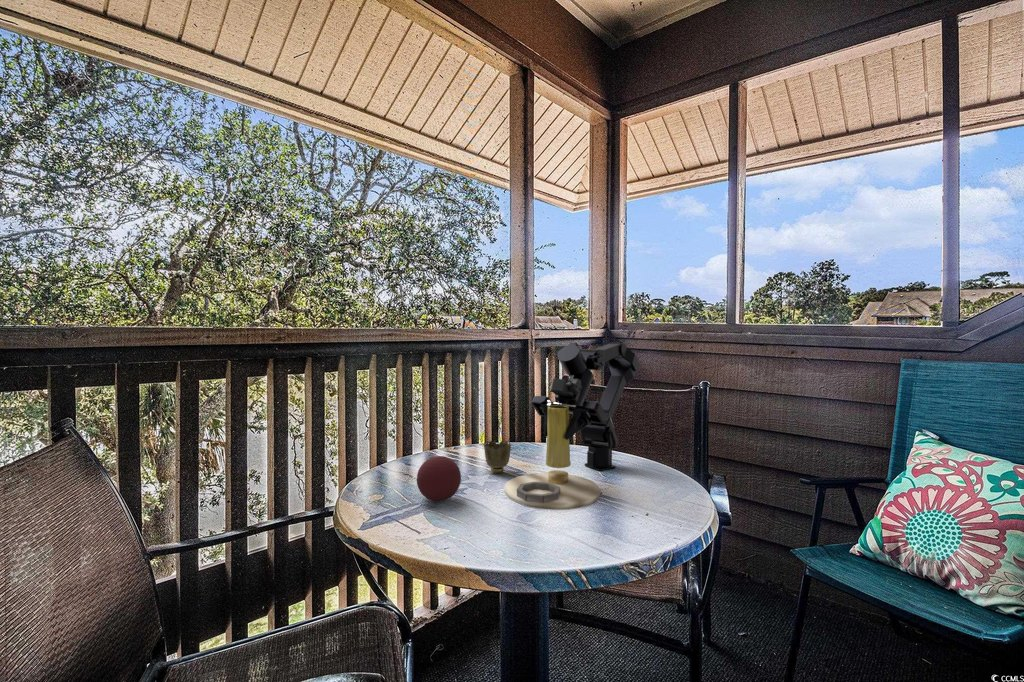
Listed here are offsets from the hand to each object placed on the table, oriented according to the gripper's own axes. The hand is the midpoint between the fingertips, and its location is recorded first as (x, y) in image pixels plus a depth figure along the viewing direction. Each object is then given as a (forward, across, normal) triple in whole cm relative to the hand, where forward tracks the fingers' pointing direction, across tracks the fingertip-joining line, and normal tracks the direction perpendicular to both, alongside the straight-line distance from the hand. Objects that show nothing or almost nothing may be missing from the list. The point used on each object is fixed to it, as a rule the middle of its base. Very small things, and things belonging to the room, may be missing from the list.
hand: (555, 436), depth 115 cm
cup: (+7, -20, +12) cm, 24 cm away
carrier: (+10, 0, +9) cm, 13 cm away
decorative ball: (+25, -18, -6) cm, 31 cm away
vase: (+4, 0, +6) cm, 7 cm away
